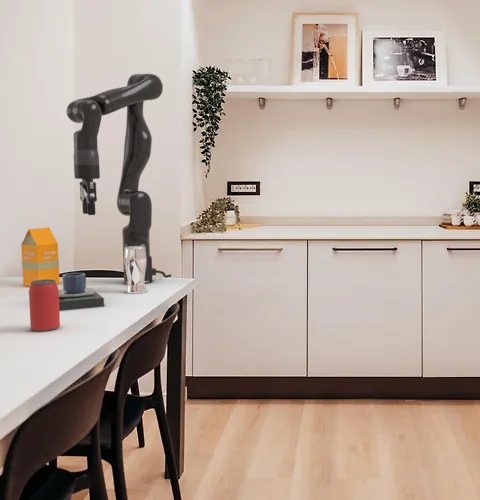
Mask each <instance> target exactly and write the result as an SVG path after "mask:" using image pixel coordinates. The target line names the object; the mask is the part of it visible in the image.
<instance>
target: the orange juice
mask: <svg viewBox="0 0 480 500" xmlns="http://www.w3.org/2000/svg"><path fill="white" fill-rule="evenodd" d="M20 247H21V249H20V250H21V269H22V287H30V285H31V282H32V281H35V280H45V279H50V280H55V281H56V284H57V285H59V284H60V283H61V281H60V259H59V242H58V241H57V239H56V238H55V235H54V234H53V231H52V230H51V228H50V227H38V228H28V230H27V232H26V234H25V236H24V239H23V241H22V243H21V246H20Z"/></svg>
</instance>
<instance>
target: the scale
mask: <svg viewBox="0 0 480 500" xmlns="http://www.w3.org/2000/svg"><path fill="white" fill-rule="evenodd" d="M100 307H105V297H103V296H102V295H100V294H99V293H98V292H97V291H95V293H94V294H91V295H87V296H79V297H59V312H61V311H69V310H70V311H71V310H79V309H92V308H100Z"/></svg>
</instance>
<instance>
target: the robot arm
mask: <svg viewBox="0 0 480 500" xmlns="http://www.w3.org/2000/svg"><path fill="white" fill-rule="evenodd" d="M163 85H164V84H163V82H162V80H161V78H160V77H159V76H158V75H156V74H154V73H135V74H134V73H133V74H131V75H130V76H129V78H128V80H127V83H126V86H121V87H116V88H111V89H107V90H104V91H102V92H100V93H97V94H94V95H92V96H88V97H83V98H78V99H75V100H73V101H71V102H70V103H68V105H67V107H66V116H67V117H68V119H69V120H70V121H71V122H72V123H75V124H82V125H81V128H80V129H78V130H76V131H75V132H73V137H72V138H73V139H72V140H73V173H74V174H73V177H74V179H76V180H81V181H79V196H80V197H79V198H80V201H81V204H82V205H81V206H82V213H83V215H88V216H95V215H96V203H97V201H98V198H97V182H96V181H94V180H99V179H100V178H101V170H100V155H99V149H98V148H99V146H98V137H99V136H98V135H99V131H100V127H101V123H102V117H103V116H107V115H110V114H112V113H114V112H117V111H119V110H122V109H124V108H126V122H125V123H126V124H125V125H126V126H125V136H124V144H123V145H124V146H123V159H122V167H121V176H120V182H119V186H118V191H117V197H116V207H117V210H118V212H119V213H120V214H121V215H122V216H126V217H129V221H128V223H127V224H126V225H125V226H124V227H122V230H121V232H122V233H121V235H122V263H123V284H124V285H125V284H126V285H128V280H127V274H126V270H125V264H124V250H125V247H129V246H144V247H145V249H146V271H145V278H144V282H145V284H149V283H153V276H157V274H161V275H162V276H163V278H171V277H172V274H166V273H165V272H164V271H163V270H157V268H155V267H153V257H152V256H151V244H150V241H151V240H150V239H151V238H150V231H151V228H152V221H153V219H152V216H153V204H152V199H151V196H150V195H149V194H148V193H147V192H145V191H143V190H139V187H140V179H141V176H142V174H143V172H144V170H145V168H146V167H147V165H148V162H149V161H150V158H151V154H152V147H153V146H152V144H153V136H152V133H151V131H150V128H149V126H148V124H147V122H146V119H145V116H144V102H146V101H154V100H157V99H159V98H160V97H161V96H162V95H163V92H164V91H163V90H164V86H163Z"/></svg>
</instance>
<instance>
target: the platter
mask: <svg viewBox="0 0 480 500" xmlns="http://www.w3.org/2000/svg"><path fill="white" fill-rule="evenodd" d="M58 292H59V297H79V296H87V295H91V294H94V293H95V292H96V290H95V289H94V288H90V287H86V289H85V291H83V292H76V293H67V292H65V290H63V289H58Z"/></svg>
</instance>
